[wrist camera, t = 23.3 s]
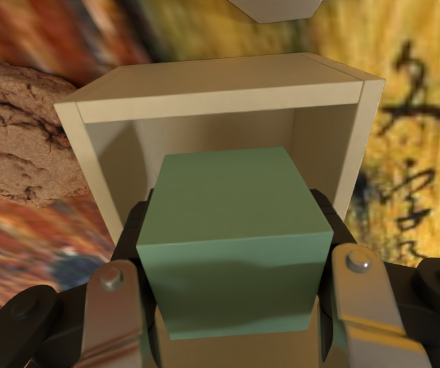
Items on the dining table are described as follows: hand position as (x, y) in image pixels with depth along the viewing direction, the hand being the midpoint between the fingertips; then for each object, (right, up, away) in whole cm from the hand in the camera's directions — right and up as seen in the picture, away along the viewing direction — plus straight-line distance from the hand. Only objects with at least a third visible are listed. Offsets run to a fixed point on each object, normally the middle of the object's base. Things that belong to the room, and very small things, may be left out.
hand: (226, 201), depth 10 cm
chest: (0, +3, +8) cm, 9 cm away
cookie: (-13, +4, +7) cm, 15 cm away
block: (0, 0, 0) cm, 0 cm away
